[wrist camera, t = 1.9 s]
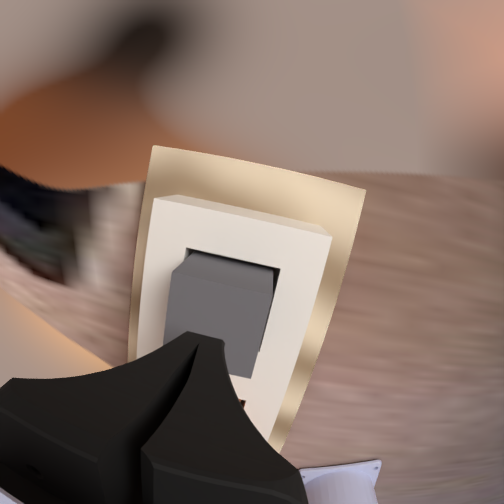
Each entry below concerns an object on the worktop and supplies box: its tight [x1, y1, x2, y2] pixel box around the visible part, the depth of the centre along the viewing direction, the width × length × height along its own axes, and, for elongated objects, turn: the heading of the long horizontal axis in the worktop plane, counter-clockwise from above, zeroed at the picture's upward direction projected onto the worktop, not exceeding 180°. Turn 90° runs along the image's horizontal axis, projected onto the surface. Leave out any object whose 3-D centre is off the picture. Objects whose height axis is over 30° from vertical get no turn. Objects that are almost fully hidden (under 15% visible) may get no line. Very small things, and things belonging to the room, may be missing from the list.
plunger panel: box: [137, 195, 333, 442], centre depth 18 cm, size 17×9×4 cm, turn 168°
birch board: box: [128, 145, 366, 453], centre depth 21 cm, size 22×13×1 cm, turn 168°
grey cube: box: [163, 251, 273, 379], centre depth 15 cm, size 4×4×4 cm
